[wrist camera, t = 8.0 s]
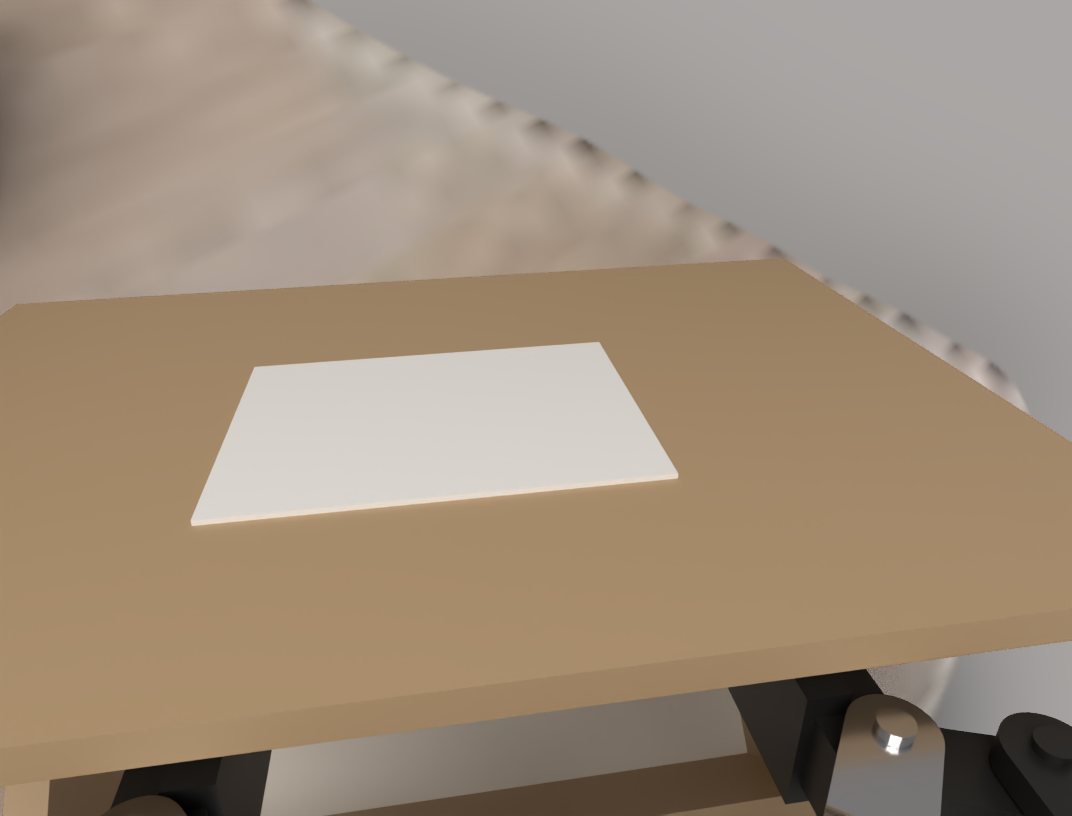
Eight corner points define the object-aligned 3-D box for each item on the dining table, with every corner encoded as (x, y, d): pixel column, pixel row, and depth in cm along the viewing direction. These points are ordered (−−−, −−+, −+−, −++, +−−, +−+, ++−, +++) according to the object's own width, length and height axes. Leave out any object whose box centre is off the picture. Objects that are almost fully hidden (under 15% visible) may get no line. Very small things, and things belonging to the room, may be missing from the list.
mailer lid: (1269, 612, 11) (1291, 574, 11) (-649, 875, 8) (-698, 831, 8) (781, 276, 25) (784, 255, 25) (23, 324, 22) (15, 300, 22)
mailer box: (773, 777, 28) (892, 821, 20) (132, 875, 25) (-10, 971, 17) (694, 365, 32) (766, 277, 25) (147, 408, 30) (42, 322, 22)
